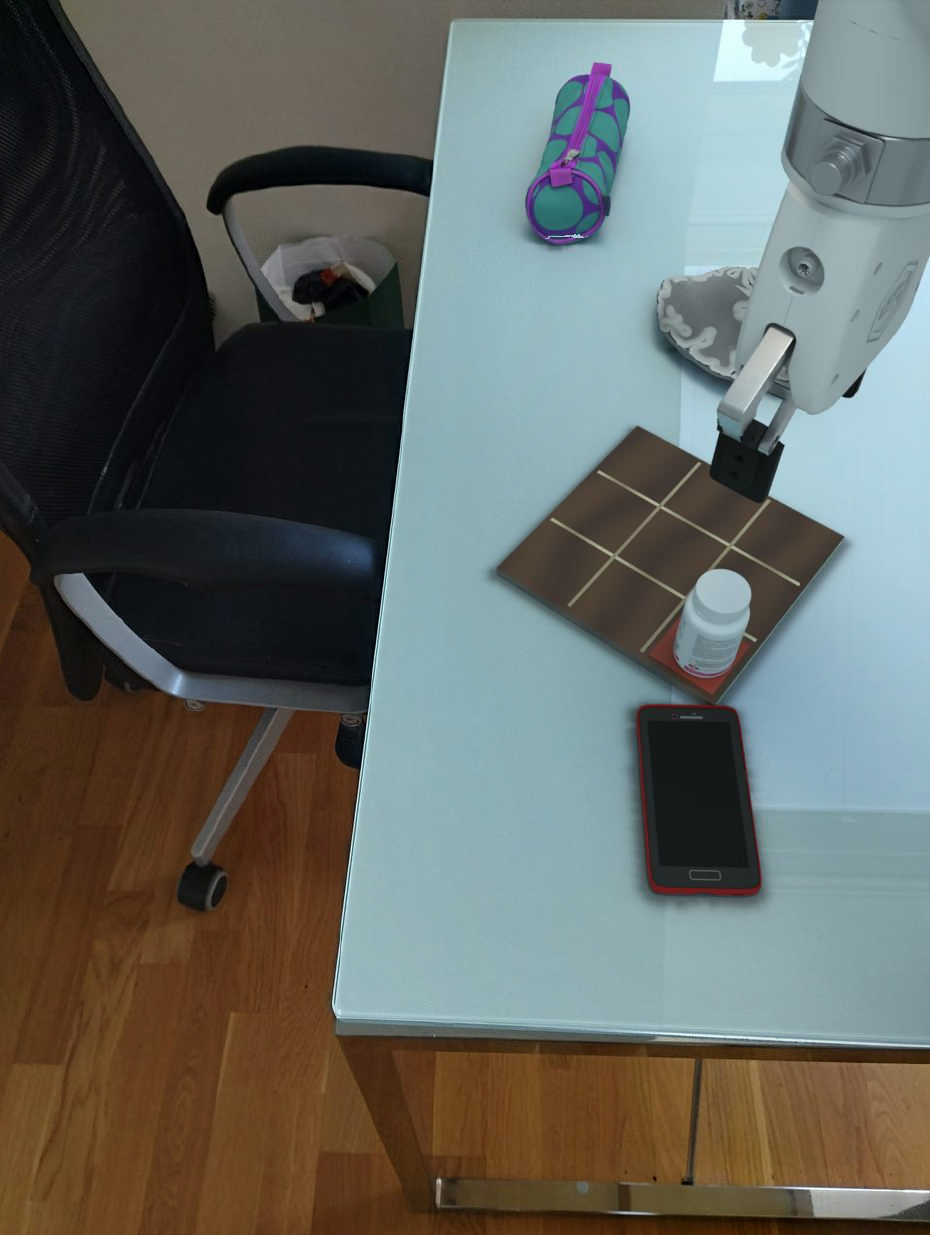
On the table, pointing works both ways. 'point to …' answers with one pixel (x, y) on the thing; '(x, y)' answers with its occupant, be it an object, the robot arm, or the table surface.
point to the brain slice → (708, 317)
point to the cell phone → (696, 801)
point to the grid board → (665, 556)
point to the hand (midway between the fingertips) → (784, 434)
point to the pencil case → (579, 158)
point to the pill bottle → (712, 623)
